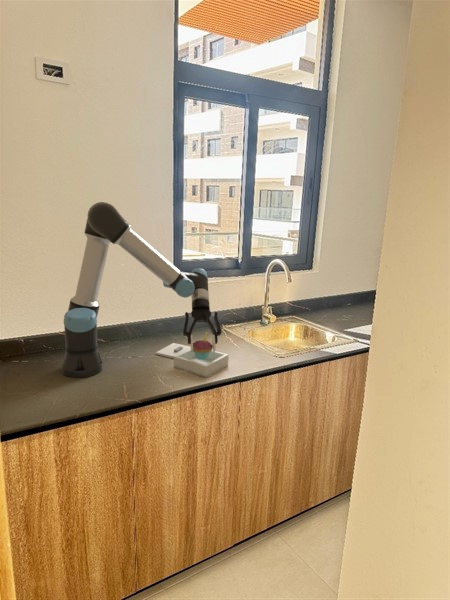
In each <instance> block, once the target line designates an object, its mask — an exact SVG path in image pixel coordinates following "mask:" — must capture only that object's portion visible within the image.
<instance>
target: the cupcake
mask: <svg viewBox="0 0 450 600" xmlns="http://www.w3.org/2000/svg"><path fill="white" fill-rule="evenodd" d="M207 336H208V329H207V330H206V331H205V334H204V339H201V340H196V341H193V351H194V352H195V355H196V358H197V359H201V360H203V359H207V358H208V355H209V353H210V351H211V350H213V344H212V343H211V342H210V341H208V340H207Z"/></svg>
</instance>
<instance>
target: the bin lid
mask: <svg viewBox="0 0 450 600" xmlns="http://www.w3.org/2000/svg"><path fill="white" fill-rule="evenodd" d="M189 349H191V345H190V346H189V345H185V344H179V343H175V342H172V343H171V344H169V345H167V346H165V347H163V348H160V350H158V351H156V354H155V355H157V356H162V357H165V358H166V357H167V358H170V359H174V356H176V355H178V354H180V353H183V352H185V351H187V350H189Z"/></svg>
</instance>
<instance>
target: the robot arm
mask: <svg viewBox="0 0 450 600" xmlns="http://www.w3.org/2000/svg"><path fill="white" fill-rule="evenodd" d="M84 235H85V237H87V239H86V243H85V244H86V245H85V249H84V253H83V256H82V257H83V258H82V263H81V267H80V271H79V275H78V276H79V277H78V281H77V285H76V290H75V295H74V296H73V297H70V301H69V305H68V310H67V311H66V312H65V313H64V317H63V324H64V325H63V327H64V342H65V343H64V344H65V353H64V356H63V357H64V358H63V361H62V364H61V373H62V374H63V375H64V376H66V377H70V378H87V377H88V378H89V377H92V376H95V375H97V374H99V373H101V372H102V371H103V366H104V365H103V360H102V358H101V355H100V353H99V350H98V325H97V323H98V315H99V310H100V306H101V303H100V302H99V301H98V297H99V292H100V289H101V283H102V279H103V278H102V277H103V275H104V270H105V265H106V261H107V256H108V251H109V247H110V244H113V245H119V246H120V247H121V248H122V249H123V250H124V251H126V252H127V253H128V254H129V255H131V256H132V257H133V258H134V259H135V260H136V261H138V262H139V263H140V264H141V265H143V266H144V267H145V268H147V270H149V272H151V273H152V274H154V275H155V276H156V277H157V278H158V279H160V280H161V281H162V284H163V287H164V288H169V289H172V290H173V291H174V292H175V293H176V294H177V295H178V296H179V297H182V298H189V297H191V312H188V311H187V312H186V311H185V313H184V319H185V321H184V324H183V325H184V326H183V331H182V333H183V334H182V336H184V337H186V338H187V344H188V345H190V347H191V352H193V343H194V338H193V337H194V335H193V331H194V329H195V327H196V325H197V323H205V324H206V325H207V327H208V328H209V331H210V333H211V334H212V336H211V337H212V338H211V341H212V343H211V344H212V346H213V347H212V350H213V352H215V351H217V349H216V344H218V339H219V338H218V337H219V336H221V335H222V329H221V325H220V322H219V319H218V312H217V311H215V312H211V307H210V292H209V278H208V273H207V271H206V270H205V269H204V268H193V269H192V270H191V271H190V272H185V271H181V270H180V269H178V268H177V267H176V266H175V265H174V264H173V263H171V262H170V261H169V260H168V259H167V258H165V257H164V256H163V254H161V253H160V252H158V251H157V250H156V249H155V248H154V246H152V245H150V244H149V243H148V242H147V241H146V240H145V239H144V238H142V237H141V236H140V235H139V234H138V233H136V232H135V231H134V230H133V228H131V224H130V223H129V222H128V221H127V220H125V218H124V217H123V216H122V215H121V214H120V212H119V211H118V210H117V209H116V207H115V206H113V205H112V204H111V203H109V202H104V201H100V202H96V203H94V204H92V205H91V207H90V208H89V209H88V212H87V218H86V222H85V228H84ZM191 317H192V319H193V321H192V323H191V325H190V328H189V330H188V326H189V325H188V324H189V320H190V318H191ZM210 317H212V319H213V322H214V325H215V326H214V325H213V323H212V322H211V319H210ZM187 330H188V331H187Z"/></svg>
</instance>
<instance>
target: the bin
mask: <svg viewBox="0 0 450 600" xmlns="http://www.w3.org/2000/svg"><path fill="white" fill-rule="evenodd" d="M227 366H229V354H228V353H225V352H221V351H217V350H215V352H213V349H212V350H211V351H210V353H209V355H208V358H207V359H203V360H201V359H197V358H196V355H195V352H194V351H193V352H191V349H189V350H187V351H185V352H183V353H180V354H178V355H176V356H174V358H173V368H174V369H177V370H181V371H182V372H186V373H189V374H192V375H195V376H198V377H201V376H202V378H204V377H205V378H204V379H207V378H208V376H209V375H210V376H212V375H214V374H215V372H216V373H217V372H219V371H221V370H223V369H224V368H227ZM213 373H214V374H213ZM211 374H212V375H211ZM210 376H209V377H210ZM206 377H207V378H206Z"/></svg>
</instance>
